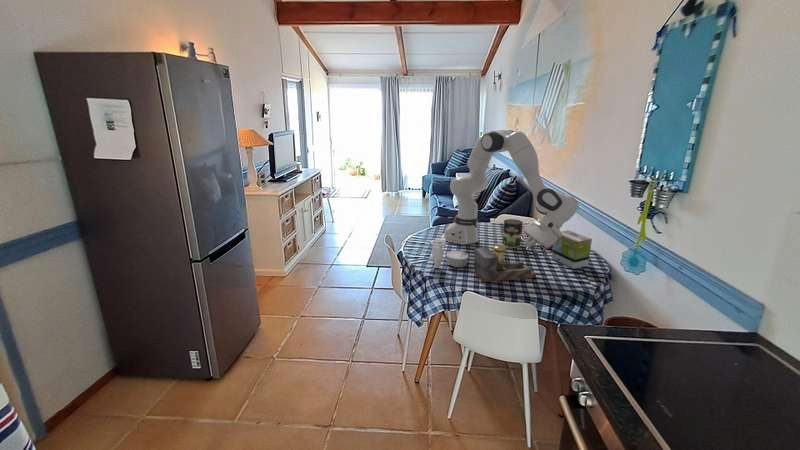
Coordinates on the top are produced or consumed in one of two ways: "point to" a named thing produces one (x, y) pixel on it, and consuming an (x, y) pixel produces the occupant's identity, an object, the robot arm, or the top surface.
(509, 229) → the coffee can
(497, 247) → the knob
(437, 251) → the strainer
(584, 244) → the tea box
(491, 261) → the rail mount
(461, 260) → the ramekin
